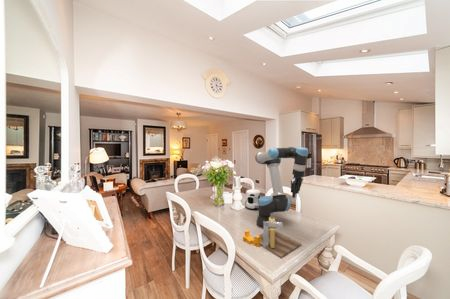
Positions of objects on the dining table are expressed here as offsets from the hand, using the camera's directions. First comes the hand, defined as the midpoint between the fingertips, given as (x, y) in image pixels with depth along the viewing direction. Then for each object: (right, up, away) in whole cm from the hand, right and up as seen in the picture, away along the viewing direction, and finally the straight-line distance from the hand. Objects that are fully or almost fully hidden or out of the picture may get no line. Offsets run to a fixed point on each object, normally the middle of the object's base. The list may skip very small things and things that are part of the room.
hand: (293, 201), depth 125 cm
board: (-13, -28, -3) cm, 31 cm away
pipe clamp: (-30, -29, -3) cm, 42 cm away
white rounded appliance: (-18, -26, +63) cm, 70 cm away
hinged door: (-16, -26, -2) cm, 31 cm away
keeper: (-17, -28, -9) cm, 34 cm away
